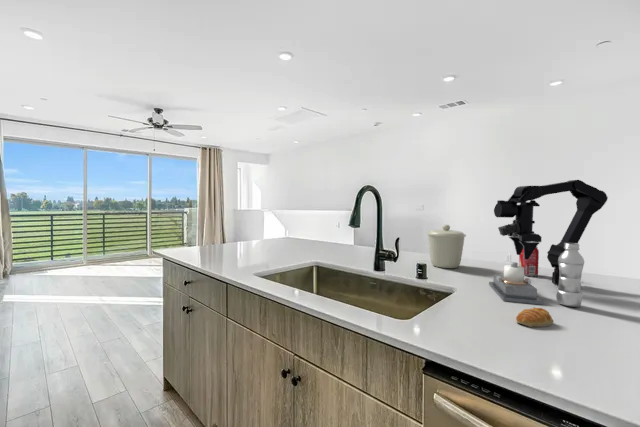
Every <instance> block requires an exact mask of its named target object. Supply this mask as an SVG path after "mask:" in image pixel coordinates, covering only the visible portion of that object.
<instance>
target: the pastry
mask: <svg viewBox="0 0 640 427" xmlns="http://www.w3.org/2000/svg"><path fill="white" fill-rule="evenodd" d="M515 319H516V320H515V321H516V323H518V324H521V325H523V326H526V327H530V328H543V326H544V327H549V326H552V325H553V324H554V323H555V322H554V319H553V317H552V316H551V314H550V312H549V311H548V310H547V309H545V308H542V307H536V306H535V307H533V308H525V309H523V310H521V311H520V312H519V313H518V314H517V316H516V317H515ZM548 325H549V326H548Z"/></svg>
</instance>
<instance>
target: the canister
mask: <svg viewBox="0 0 640 427" xmlns="http://www.w3.org/2000/svg"><path fill="white" fill-rule="evenodd" d="M450 228H451V226H450V224H444V225H442V229H431V230H430V231H428V232H426V235H427V238H428V239H427V240H428V250H429V259H430V263H431V264H432V266H434V267H437V268H440V269H441V268H442V269H456V268H458V267H459V266H460V265H461V262H462V256H463V251H464V243H465V238H466V237H467V235H466V234H465V233H464V232H462V231H459V230H454V229H452V230H451V229H450Z"/></svg>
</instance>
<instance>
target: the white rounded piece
mask: <svg viewBox="0 0 640 427" xmlns="http://www.w3.org/2000/svg"><path fill="white" fill-rule="evenodd" d="M503 276H504V280H505V281H507V282H512V283H524V280H525V276H524V267H521V266H519V262H515V261H512V262H510V264H505V265H503Z"/></svg>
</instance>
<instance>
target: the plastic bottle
mask: <svg viewBox="0 0 640 427" xmlns="http://www.w3.org/2000/svg"><path fill="white" fill-rule="evenodd" d="M564 249H565V251H564V252H563V253H561V255H560V256H559V258H558V263H559V275H560V276H559V285H558V286H557V290H556V292H555V293H556V294H555V298H556V301H557V302H558V304H561V305H563V306H567V307H572V308H578V307H580V306H581V305H582V303H583V295H582V284H581V282H582V276H583V274H582V273H583V270H584V267H585V266H584V265H585V259H584V257H583V256H582V254H581V253H580V252H579V251H580V243H578V244H577V243H564Z"/></svg>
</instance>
